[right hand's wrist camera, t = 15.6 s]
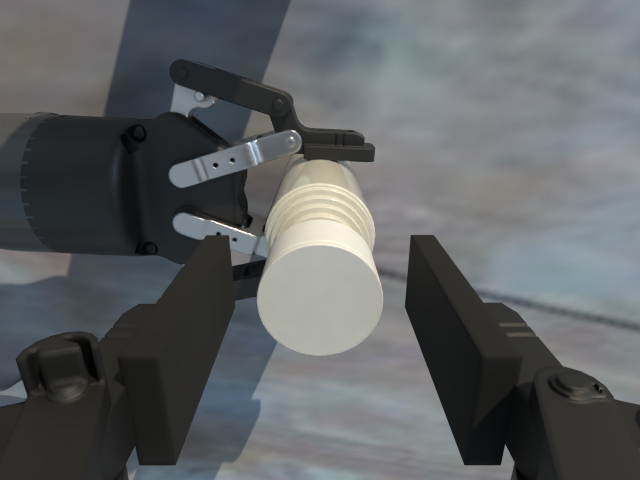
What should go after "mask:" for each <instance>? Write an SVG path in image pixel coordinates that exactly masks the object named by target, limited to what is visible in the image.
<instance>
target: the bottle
mask: <svg viewBox="0 0 640 480" xmlns="http://www.w3.org/2000/svg"><path fill="white" fill-rule="evenodd" d="M309 220H331V221H335V222H339V223H341V224H344V225H346V226H348V227H350V228H351V229H353V230H354V231H355V232H357V233H358V234H359V235H360V236H361V237H362V238H363V240H364V241H365V242H366V244H367V245H368V247H369V249H370V251H371V254H372V251H373V248H374V243H375V227H374V222H373V219H372V216H371V214H370V211H369V208H368V206H367V203H366V201H365V198H364V195H363V193H362V190H361V188H360V185H359V182H358V180H357V177H356V175H355V172H354V169H353V167H352V164H351V161H335V160H313V159H304V154H292V156H291V158H290V160H289V163H288V165H287V168H286V171H285V173H284V176H283V179H282V181H281V184H280V186H279V189H278V192H277V194H276V197H275V200H274V202H273V205H272V208H271V210H270V213H269V215H268V218H267V221H266V225H265V245H266V249H267V252H268V253H269V251H270V248H271V247H272V245H273V243H274V242H275V241H276V239H277V238H278V237H279V236H280V235H281V234H282V233H283V232H285V231H286V230H287V229H289V228H290V227H292V226H294V225H296V224H299V223H301V222H305V221H309Z"/></svg>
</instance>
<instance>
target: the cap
mask: <svg viewBox="0 0 640 480" xmlns="http://www.w3.org/2000/svg"><path fill="white" fill-rule="evenodd" d="M382 308H383V291H382V287H381V283H380V280H379V276H378V273H377V270H376V266H375V263H374V260H373V257H372V254H371V251H370V249H369V247H368V245H367V244H366V242H365V241H364V240H363V238H362V237H361V236H360V235H359V234H358V233H357V232H355V231H354V230H353V229H351V228H350V227H348V226H346V225H344V224H341V223H339V222H335V221H331V220H309V221H305V222H301V223H299V224H296V225H294V226H292V227H290V228H289V229H287V230H286V231H285V232H283V233H282V234H281V235H280V236H279V237H278V238H277V239H276V241H275V242H274V243H273V245H272V247H271V248H270V251H269V253H268V256H267V259H266V262H265V266H264V269H263V273H262V276H261V279H260V283H259V286H258V291H257V309H258V314H259V316H260V319H261V322H262V323H263V325H264V327H265V329H266V330H267V331H268V333H269V334H270V335H271V336H272V337H273V338H274V339H275V340H276V341H278V342H279V343H280V344H282V345H283V346H285V347H286V348H288V349H291V350H293V351H295V352H298V353H301V354H306V355H312V356H327V355H334V354H338V353H342V352H344V351H347V350H349V349H351V348H353V347H355V346H357V345H358V344H360V343H361V342H362V341H363V340H365V339H366V338H367V337H368V336H369V335H370V334H371V332H372V331H373V330H374V328H375V327H376V325H377V323H378V321H379V319H380V316H381V313H382Z"/></svg>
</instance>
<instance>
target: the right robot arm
mask: <svg viewBox="0 0 640 480" xmlns="http://www.w3.org/2000/svg"><path fill="white" fill-rule="evenodd" d="M234 308H235V300H234V288H233V276H232V264H231V252H230V240H229V235H206V236H205V238H204V239H203V240H202V242H201V243H200V244H199V246H198V247H197V249H196V250H195V251H194V253H193V254H192V255H191V257H190V258H189V259H188V261H187V262H186V263H185V265H184V266H183V268H182V269H181V270H180V272H179V273H178V274H177V276H176V277H175V278H174V280H173V281H172V282H171V284H170V285H169V287H168V288H167V289H166V291H165V292H164V293H163V295H162V296H161V297H160V299H159V300H158V301H157V303H156V304H138V305H137V306H135V307H134V308H132V309H130V310H129V311H127V312H126V313H124V314H123V315H122V316H121V317H120V318H119V319H118V321H117V322H116V323H115V324H114V325H113V328H111V329H110V330H109V331H108V332H107V334H106V335H105V338H102V340H101V341H100V342H99V343H98V338H96V337H95V336H94V335H92V334H91V333H86V332H66V333H62V334H58V335H53V336H50V337H48V338H45V339H43V340H40V341H38V342H36V343H34V344H32V345H31V346H29V347H28V348H26V349H25V350H23V351H22V352H21V354H20V355H19V356H18V357H17V358H16V362H17V365H18V368H19V371H20V374H21V378H22V381H23V384H24V387H25V390H26V394H27V398H26V400H25V401H24V402H21V403H16V404H12V405H7V406H2V407H0V480H129V479H128V472H127V468H126V462H127V460H128V458H129V456H130V454H131V452H132V450H133V448H134V446H135V447H136V452H137V456H138V461H139V465H176V462H177V460H178V457H179V454H180V452H181V449H182V446H183V444H184V441H185V438H186V436H187V433H188V430H189V428H190V425H191V423H192V420H193V417H194V415H195V412H196V409H197V407H198V404H199V401H200V399H201V396H202V393H203V391H204V388H205V385H206V383H207V380H208V377H209V375H210V372H211V369H212V367H213V364H214V361H215V359H216V356H217V353H218V351H219V348H220V345H221V343H222V340H223V337H224V335H225V332H226V329H227V327H228V324H229V322H230V319H231V316H232V314H233V311H234ZM405 308H406V311H407V314H408V316H409V319H410V322H411V324H412V327H413V329H414V332H415V335H416V337H417V340H418V343H419V345H420V348H421V351H422V353H423V356H424V359H425V361H426V364H427V367H428V369H429V372H430V375H431V377H432V380H433V383H434V385H435V388H436V391H437V393H438V396H439V399H440V401H441V404H442V407H443V409H444V412H445V415H446V417H447V420H448V423H449V425H450V428H451V430H452V433H453V436H454V438H455V441H456V444H457V446H458V449H459V452H460V454H461V457H462V460H463V462H464V465H501V461H502V456H503V451H504V447H505V444H506V446H507V448H508V450H509V452H510V454H511V456H512V458H513V460H514V462H515V463H514V468H513V472H512V477H511V480H640V405H637V404H633V403H628V402H623V401H619V400H615V399H614V397H613V395H612V394H611V393H610V392H609V390H608V389H607V388H606V386H604V385H603V384H602V383H600V382H599V381H598V380H596V379H595V378H594V377H591V376H589V375H587V374H585V373H583V372H581V371H578V370H574V369H571V368H567V367H563V366H562V365H561V363H560V362H559V361H558V360H557V359H556V358H555V356H554V355H553V354H552V353H551V352H550V351H549V349H548V348H547V347H546V346H545V345H544V344H543V342H542V341H541V340H540V339H539V338H538V337H536V336H535V333H534V332H533V331H532V329H531V328H530V327H527V324H526V322H525V321H524V320H523V319H522V318H521V317H520V315H519V314H518V313H517V312H515V311H514V310H512V309H510V308H509V307H507V306H506V305H504V304H502V303H483V302H482V300H481V299H480V297H479V296H478V295H477V293H476V292H475V291H474V289H473V288H472V287H471V285H470V284H469V283H468V281H467V280H466V278H465V277H464V276H463V274H462V273H461V272H460V270H459V269H458V268H457V266H456V265H455V264H454V262H453V261H452V259H451V258H450V257H449V255H448V254H447V253H446V251H445V250H444V249H443V247H442V246H441V245H440V243H439V242H438V240H437V239H436V238H435V236H434V235H411V240H410V252H409V264H408V276H407V288H406V300H405Z"/></svg>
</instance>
